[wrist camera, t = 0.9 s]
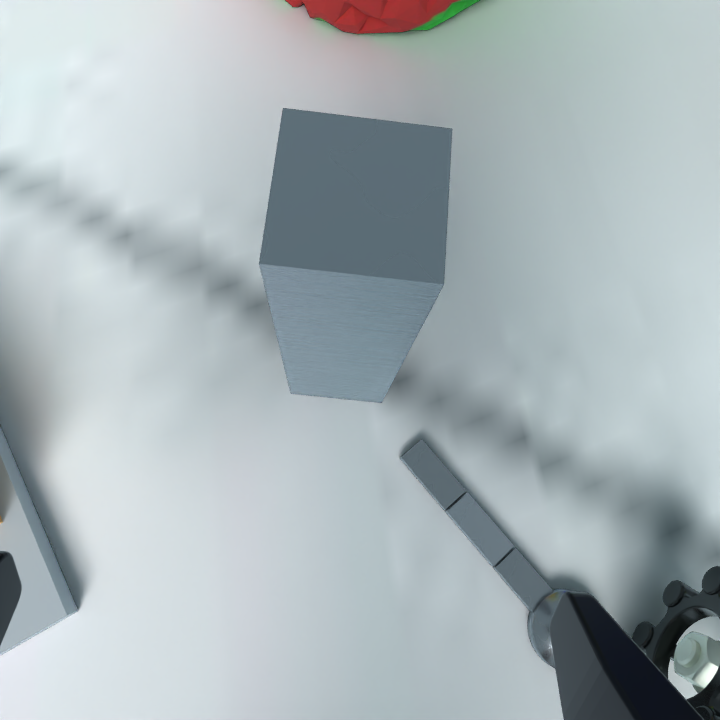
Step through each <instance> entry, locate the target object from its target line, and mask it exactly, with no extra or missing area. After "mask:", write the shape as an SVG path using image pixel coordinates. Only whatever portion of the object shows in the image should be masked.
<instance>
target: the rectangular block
mask: <svg viewBox="0 0 720 720" xmlns="http://www.w3.org/2000/svg"><path fill="white" fill-rule="evenodd" d="M451 141H452V129H450V128H442V127H434V126H426V125H417V124H409V123H401V122H393V121H385V120H377V119H369V118H360V117H352V116H344V115H336V114H328V113H320V112H312V111H303V110H295V109H287V108H283V111H282V118H281V124H280V131H279V137H278V144H277V150H276V157H275V163H274V170H273V176H272V183H271V189H270V196H269V202H268V209H267V215H266V222H265V228H264V235H263V241H262V248H261V255H260V261H259V265H260V270H261V274H262V278H263V282H264V286H265V290H266V294H267V298H268V302H269V306H270V311H271V315H272V319H273V323H274V327H275V331H276V335H277V339H278V343H279V347H280V352H281V356H282V360H283V364H284V368H285V372H286V376H287V380H288V384H289V388H290V393H291V394H300V395H310V396H320V397H329V398H339V399H349V400H359V401H368V402H378V403H382V401H383V399H384V397H385V395H386V393H387V391H388V390H389V388H390V386H391V384H392V382H393V380H394V378H395V376H396V374H397V372H398V371H399V369H400V367H401V365H402V363H403V361H404V359H405V357H406V355H407V354H408V352H409V350H410V348H411V346H412V344H413V342H414V340H415V338H416V336H417V335H418V333H419V331H420V329H421V327H422V325H423V323H424V321H425V319H426V317H427V316H428V314H429V312H430V310H431V308H432V306H433V304H434V302H435V300H436V299H437V297H438V295H439V293H440V291H441V289H442V287H443V285H444V274H445V255H446V236H447V217H448V198H449V179H450V160H451Z"/></svg>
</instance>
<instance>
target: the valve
mask: <svg viewBox="0 0 720 720" xmlns="http://www.w3.org/2000/svg"><path fill="white" fill-rule="evenodd" d="M702 588H703V590H702V591H701V592H700V593H699V592H697V591H696V590H694V589H692V588H691V587H689V586H688V585H686V584H685V583H683V582H681V581H679V580H675V581H672V582H671V583H669V584H668V585H667V587H666V588H665V590H664V593H663V602H664V604H665V605H666V606H668V610H667V613H666V615H665V617H664V618H663V619H662V621H661V622H660V623H659V625H657V626H656V627H655V626H654V625H652V624H651V623H649V622H642V623H640V624H639V625H638V626H637V627H636V629H635V632H634V634H633V638H632V640H633V641H634V642H635V643H636V644H637V646H638V647H639V648H640V649H641V650H642V651H643V652H644V653H645V654H646V656H647V657H648V658H649V659H650V660H651V661H652V662H653V663H654V664H655V666H656V667H657V668H658V669H659V670H660V671H661V672H662V673H663V674H664V676H665V677H666V678H667V679H668V667H669V662H670V659H671V660H673V661H674V668H675V673H677V674H678V675H680V676H681V677H683V678H684V679H686V680H688V681H689V682H691V683H692V684H693V687H694V688H695V690H696V691H697V692H698V694H697V695H695V696H694V697H691V698H689V699H687V701H688V702H689V703H690V705H691V706H692V707H693V708H694V709H695V710H696V711H697V712H698V713H699V715H700V716H701V717H702V718H703V719H704V720H720V641H715V640H713V639H712V638H710V637H708V636H706V635H703V634H700V633H697V632H693V631H692V632H690V633H689V634H687V635H686V636H685V637H684V638H683V639H682V640H681V641H680V642H679V643H678V645H676V643H677V642H678V640H679V638H680V637H681V635H682V634H683V633H684V632H685V630H686V629H687V628H688V627H690V626H691V625H692V624H693V623H695V622H697V621H698V620H700V619H702V618H706V617H710V616H717V617H719V618H720V566H715V567H712V568H711V569H709V570H708V571H707V572H706V574H705V575H704V577H703V580H702Z"/></svg>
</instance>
